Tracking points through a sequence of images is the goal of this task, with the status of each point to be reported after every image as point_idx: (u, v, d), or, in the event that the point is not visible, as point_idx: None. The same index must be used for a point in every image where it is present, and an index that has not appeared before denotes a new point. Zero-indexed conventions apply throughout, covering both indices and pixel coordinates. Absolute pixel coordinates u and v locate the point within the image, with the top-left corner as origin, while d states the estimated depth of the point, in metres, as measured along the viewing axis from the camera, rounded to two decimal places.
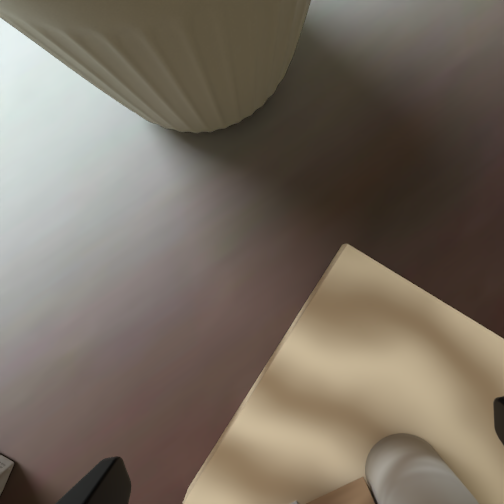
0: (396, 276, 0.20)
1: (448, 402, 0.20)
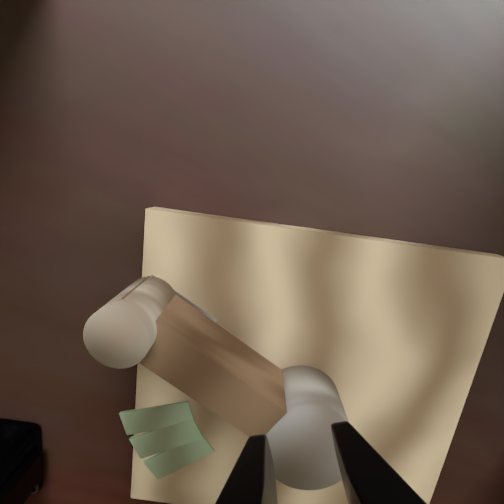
0: (490, 320, 0.18)
1: (376, 409, 0.20)
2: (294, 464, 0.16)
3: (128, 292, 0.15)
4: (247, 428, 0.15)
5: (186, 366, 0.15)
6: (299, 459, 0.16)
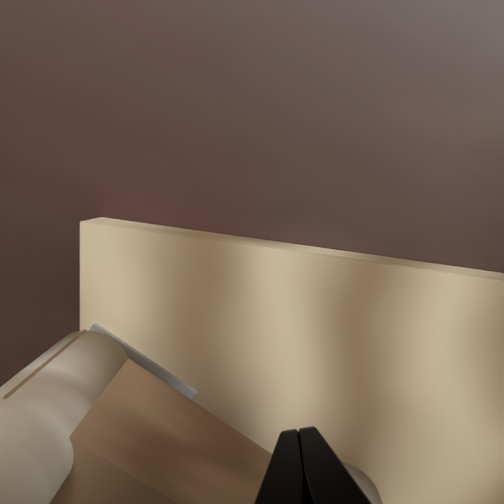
0: None
1: None
2: None
3: (27, 376, 0.08)
4: None
5: None
6: None
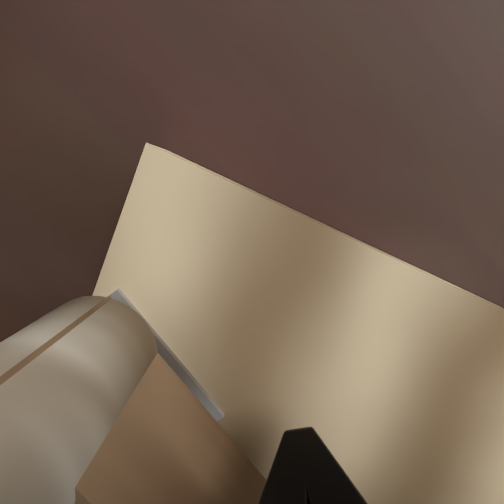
0: None
1: None
2: None
3: (22, 358, 0.05)
4: None
5: None
6: None
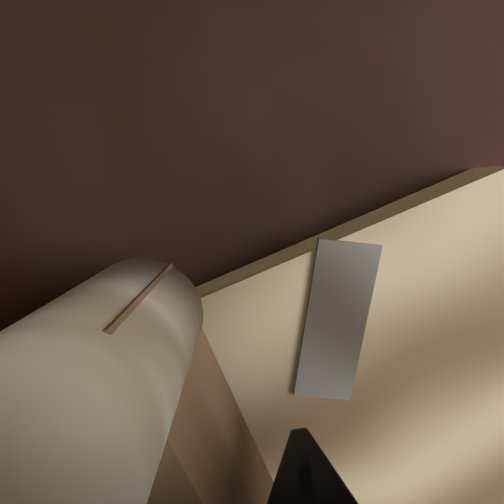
0: None
1: None
2: None
3: (127, 305, 0.05)
4: None
5: None
6: None
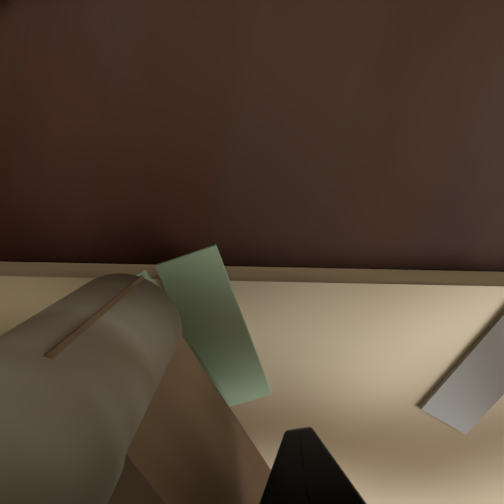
0: None
1: None
2: None
3: (78, 326, 0.05)
4: None
5: None
6: None
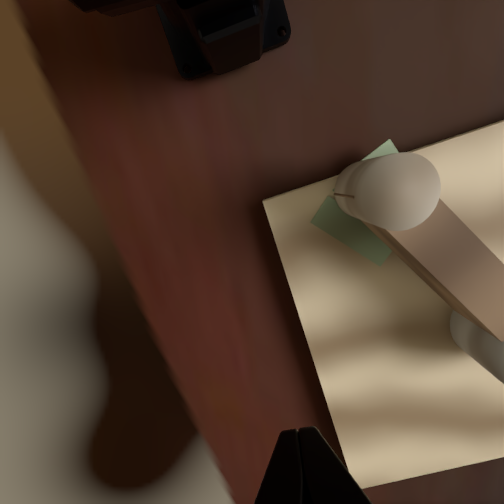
0: None
1: (493, 389, 0.20)
2: None
3: (386, 155, 0.13)
4: (494, 324, 0.14)
5: (446, 243, 0.13)
6: None
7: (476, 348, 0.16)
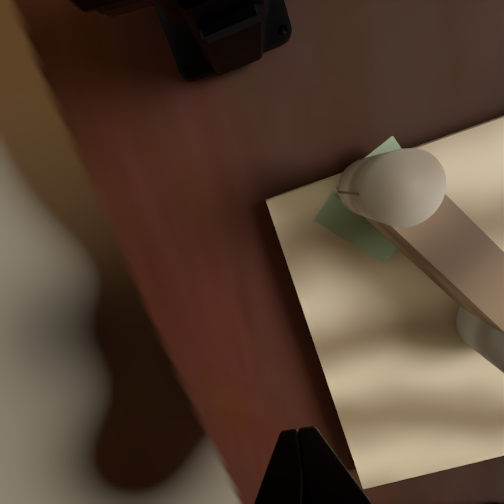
0: None
1: (500, 385, 0.19)
2: None
3: (390, 152, 0.13)
4: (502, 319, 0.14)
5: (452, 239, 0.13)
6: None
7: (484, 344, 0.16)
